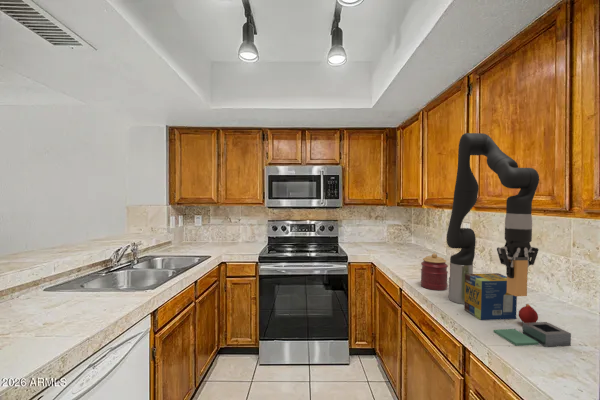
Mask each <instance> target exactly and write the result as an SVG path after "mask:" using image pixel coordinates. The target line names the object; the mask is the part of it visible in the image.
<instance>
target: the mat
mask: <svg viewBox="0 0 600 400" xmlns="http://www.w3.org/2000/svg"><path fill="white" fill-rule="evenodd" d="M493 333H494V334H495V335H498V336H499V337H501V338H502V339H504V340H506V341H508V342H509V343H511V344H512V345H514V346H516V347H520V346H521V347H522V346H538V345H539V342H537V341H535V340H533V339H532V338H530V337H528V336H526V335H524V334H523V332H521V331H520V330H517V329H516V328H504V329H503V328H502V329H500V328H499V329H493Z"/></svg>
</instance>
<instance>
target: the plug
mask: <svg viewBox="0 0 600 400" xmlns="http://www.w3.org/2000/svg"><path fill="white" fill-rule="evenodd" d="M510 257H511V258H512V257H513V256H510ZM510 262H511V260H510ZM528 270H529V267H528V257H516V261H515V264H514V278H509V277H508V276H507V275H506V276H507V293H509V294H511V295H514V296H517V297H528V275H527V273H528V274H529V272H528Z"/></svg>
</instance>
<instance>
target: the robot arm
mask: <svg viewBox="0 0 600 400" xmlns="http://www.w3.org/2000/svg"><path fill="white" fill-rule="evenodd" d="M457 151H458V152H457V153H458V154H457V155H458V156H457V170H456V171H457V172H456V178H455V186H454V191H453V193H454V194H453V200H452V207H451V214H450V218H449V223H448V227H447V231H446V243H447V246H448V248H451V249H460V250H459V251H458V252H457V253H455V254H452V255H451V256H450V257H449V258H450V260H449V277H448V298H449V299H448V300H450V301H451V302H453V303H456V304H463V305H465V274H474V259H475V254H476V243H477V242H476V239H477V238H476V234H475V230H473V229H472V228H471V227H470V228H469V227H462V224H463V221H464V220H465V218H466V216H467V215H468V214H469V213H470V211H471V210H472V209H473V208H474V206H475V205H476V203H477V202H478V201H477V200H478V195H479V188H480V187H479V183H478V180H477V179H476V177H475V174H474V173H473V171H472V168H471V156H484V157H486V164H487V166H488V167H489V169H490V170H491V171H492V172H493V173H494V174H496V175H497V177H498V179H499V182H500V184H501V185H502V186H503V187H505V188H507V189H514V190H519V192H518V193H517V194H514V195H510V196H509V197H507V198H506V206H505V207H506V208H505V209H506V210H505V211H506V212H505V219H504V241H505V244H504V246H502V247H499V246H498V247H496V252H497V255H498V259H499V262H500V264H501V265H504V266H506V268H505V269H506V270H505V271H506V275H505V276H508V277H509V278H514V264H515V261H516V257H528V268H529V267H530V266H534V265H535V262H536V260H537V256H538V253H539V247H534V246H531V242H532V240H533V233H532V232H533V217H532V216H533V215H532V212H533V211H532V210H533V205H532V204H533V200H534V197H535V195H536V191H537V188H538V186H539V183H540V175H539V172H538V170H536V169H535V168H533V167H519V164H518V163H517V161H516V160H515V159H513V158H512V157H510V156H509V155H507V154H506V153H505V152H504V151H502V149H501V148H500V147H499V146H498V145H497V143H496V142H495V141H494V140H493V139H492V137H490V136H489V135H488V134H487V133H481V132H478V133H477V132H471V133H470V132H469V133H468V132H466V133H465V132H464V133H463V134H462V135H461V136H460V138H459V142H458V150H457ZM510 256H513V257H512V258H511V257H510ZM510 260H511V262H510ZM528 274H529V272H528V273H527V276H528Z"/></svg>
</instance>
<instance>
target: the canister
mask: <svg viewBox="0 0 600 400" xmlns="http://www.w3.org/2000/svg"><path fill="white" fill-rule="evenodd" d="M420 265H421V268H420V279H421V280H420V286H421V287H422V288H424V289H427V290H433V291H444V290H447V289H448V287H449V282H448V273H449V272H448V269H447V268H448V267H449V265H448V264H447V260H446V259H444V258H443V257H441V256H438V255H437V253H435V252H433V253H432V254H431V255H428V256H425V257H424V258H422V262H420Z"/></svg>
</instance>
